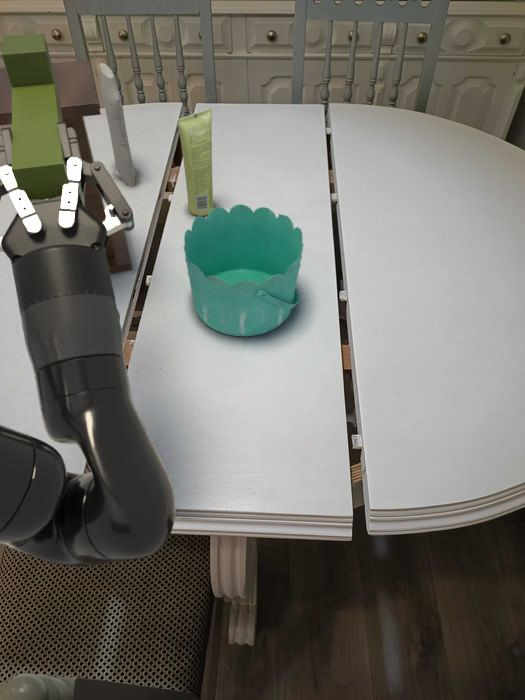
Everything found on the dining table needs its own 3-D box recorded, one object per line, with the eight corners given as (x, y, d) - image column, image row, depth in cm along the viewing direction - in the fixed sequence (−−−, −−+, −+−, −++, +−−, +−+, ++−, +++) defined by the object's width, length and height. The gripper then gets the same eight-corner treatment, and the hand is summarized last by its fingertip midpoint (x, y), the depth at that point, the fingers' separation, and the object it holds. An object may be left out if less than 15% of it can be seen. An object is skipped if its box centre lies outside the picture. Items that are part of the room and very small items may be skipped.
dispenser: (110, 164, 118) (88, 58, 101) (128, 161, 119) (109, 55, 102) (123, 189, 111) (102, 80, 95) (142, 184, 113) (124, 76, 96)
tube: (191, 200, 109) (183, 104, 95) (216, 202, 109) (211, 106, 94) (186, 216, 106) (177, 119, 91) (211, 218, 105) (206, 121, 91)
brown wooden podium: (65, 309, 88) (-5, 113, 63) (59, 240, 100) (-2, 53, 75) (138, 295, 90) (98, 102, 66) (124, 230, 102) (85, 46, 78)
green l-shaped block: (23, 202, 44) (-2, 133, 40) (21, 97, 58) (2, 35, 53) (72, 195, 45) (53, 127, 41) (59, 93, 59) (43, 32, 54)
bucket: (195, 263, 96) (189, 201, 86) (296, 265, 96) (301, 204, 87) (184, 341, 84) (176, 279, 74) (300, 344, 84) (307, 282, 74)
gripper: (155, 283, 42) (112, 92, 45) (-40, 318, 39) (-72, 111, 42) (157, 310, 49) (120, 145, 52) (-7, 341, 46) (-36, 164, 49)
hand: (35, 131), depth 47 cm, fingers closed on green l-shaped block, 4 cm apart
